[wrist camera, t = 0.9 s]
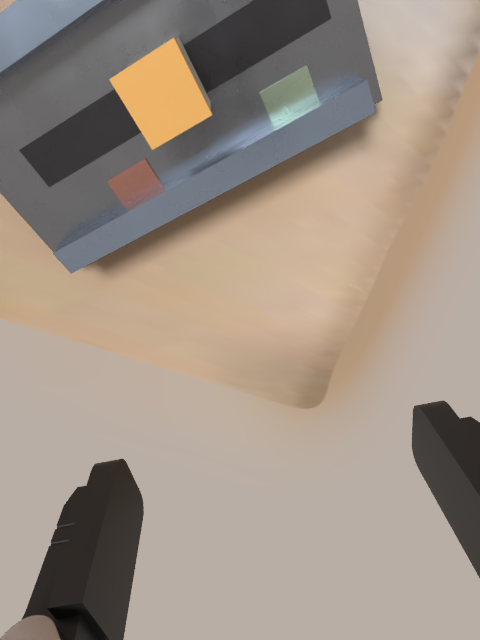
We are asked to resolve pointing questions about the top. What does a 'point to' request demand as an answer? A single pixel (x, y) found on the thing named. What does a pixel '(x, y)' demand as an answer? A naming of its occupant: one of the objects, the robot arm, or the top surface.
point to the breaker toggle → (163, 93)
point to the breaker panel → (186, 148)
